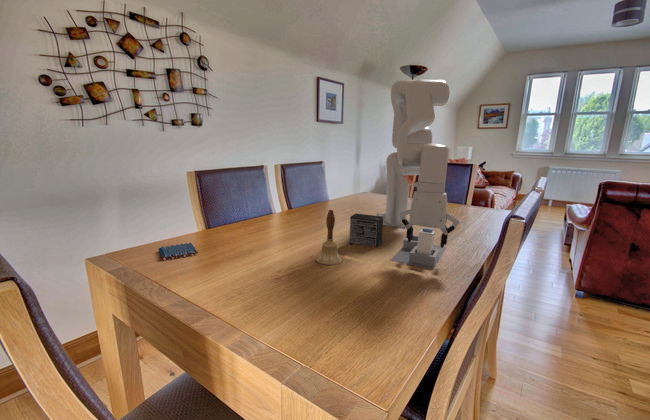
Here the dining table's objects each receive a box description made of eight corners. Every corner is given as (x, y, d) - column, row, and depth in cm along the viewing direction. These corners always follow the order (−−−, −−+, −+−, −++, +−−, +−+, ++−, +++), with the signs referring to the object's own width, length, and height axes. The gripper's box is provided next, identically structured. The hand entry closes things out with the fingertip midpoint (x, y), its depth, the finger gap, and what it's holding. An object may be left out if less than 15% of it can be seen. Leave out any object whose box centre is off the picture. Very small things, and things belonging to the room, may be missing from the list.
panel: (390, 262, 97) (390, 250, 96) (409, 242, 115) (409, 233, 115) (433, 272, 90) (435, 259, 90) (446, 249, 109) (447, 239, 108)
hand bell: (345, 257, 101) (347, 208, 97) (337, 266, 93) (339, 214, 89) (321, 253, 103) (321, 206, 100) (311, 262, 96) (312, 211, 92)
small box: (382, 244, 114) (384, 215, 111) (377, 249, 108) (379, 220, 106) (354, 239, 118) (356, 212, 116) (348, 244, 112) (349, 216, 110)
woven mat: (199, 256, 100) (198, 250, 100) (161, 262, 94) (161, 256, 94) (192, 247, 109) (192, 241, 108) (158, 252, 103) (157, 246, 103)
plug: (416, 261, 96) (418, 230, 94) (418, 257, 100) (421, 227, 97) (429, 263, 94) (432, 232, 92) (432, 259, 98) (435, 229, 96)
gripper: (398, 186, 93) (394, 241, 97) (461, 192, 84) (454, 252, 88) (405, 183, 99) (401, 235, 103) (464, 188, 91) (457, 245, 95)
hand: (425, 243), depth 96 cm, fingers open, 9 cm apart
